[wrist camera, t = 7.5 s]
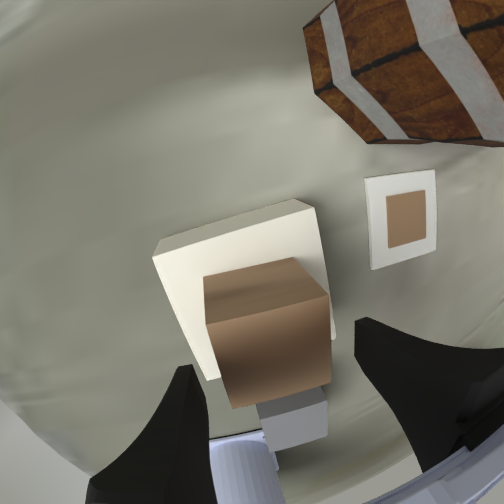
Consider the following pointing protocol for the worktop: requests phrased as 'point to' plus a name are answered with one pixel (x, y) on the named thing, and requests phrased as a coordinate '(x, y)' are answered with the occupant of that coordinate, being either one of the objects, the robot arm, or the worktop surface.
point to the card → (401, 216)
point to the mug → (412, 69)
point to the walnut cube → (268, 331)
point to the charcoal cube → (294, 419)
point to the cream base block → (235, 262)
